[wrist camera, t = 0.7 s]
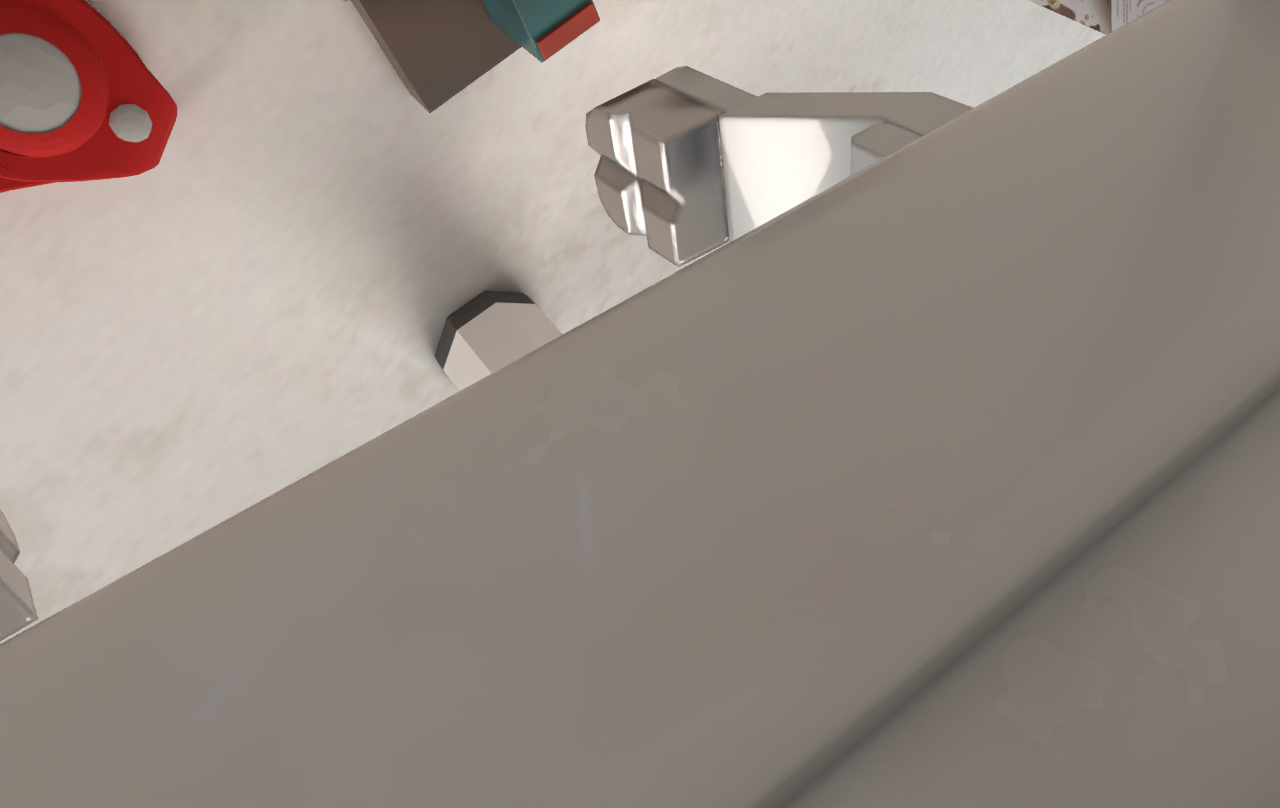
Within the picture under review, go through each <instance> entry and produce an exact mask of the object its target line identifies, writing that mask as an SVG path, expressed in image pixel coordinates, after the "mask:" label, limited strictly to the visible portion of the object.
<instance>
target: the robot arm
mask: <svg viewBox="0 0 1280 808" xmlns="http://www.w3.org/2000/svg"><path fill="white" fill-rule="evenodd" d="M586 133H587V139H588V144H589V146H590V147H591V148H593V149H594V150H595V151H596V152H597V153H598V154H600V155H601V157H600V160H599V163H598V166H597V169H596V172H595V175H594V176H595V180H596V185H597V189H598V194H599V198H600V200H601V202H602V204H603V206H604V208H605V210H606V212H607V214H608V216H609V217H610V218H611V219H612V220H613V222H614V223H615V224H616V225H617V226H618V227H619V228H621V229H622V230H623V231H625V232H626V233H628V234H630V235H641V236H647V240H648V246H649V248H650V249H652V250H653V251H655V252H656V253H658V254H659V255H661V256H662V257H664V258H665V259H667V260H668V261H670V262H671V263H673V264H674V265H676V266H677V267H680V266H682V265H684V264H686V263H688V262H690V261H692V260H694V259H696V258H698V257H700V256H702V255H704V254H706V253H708V252H710V251H712V250H714V249H716V248H718V247H719V246H721V245H723V244H725V243H727V242H729V241H730V243H728V244H726V245H724V246H722V247H721V248H719V249H717V250H715V251H713V252H712V253H710V254H708V255H706V256H704V257H702V258H701V259H699V260H697V261H695V262H693V263H692V264H690V265H688V266H686V267H684V268H683V269H681V270H679V271H677V272H675V273H673V274H672V275H670V276H668V277H666V278H664V279H663V280H661V281H659V282H657V283H655V284H654V285H652V286H650V287H648V288H646V289H644V290H643V291H641V292H639V293H637V294H635V295H634V296H632V297H630V298H628V299H626V300H625V301H623V302H621V303H619V304H617V305H615V306H614V307H612V308H610V309H608V310H606V311H605V312H603V313H601V314H599V315H597V316H595V317H594V318H592V319H590V320H588V321H586V322H585V323H583V324H581V325H579V326H577V327H576V328H574V329H572V330H570V331H568V332H566V333H565V334H563V335H561V336H559V337H557V338H556V339H554V340H552V341H550V342H548V343H547V344H545V345H543V346H541V347H539V348H537V349H536V350H534V351H532V352H530V353H528V354H527V355H525V356H523V357H521V358H519V359H517V360H516V361H514V362H512V363H510V364H508V365H507V366H505V367H503V368H501V369H499V370H497V371H496V372H494V373H492V374H490V375H488V376H487V377H485V378H483V379H481V380H479V381H477V382H476V383H474V384H472V385H470V386H468V387H467V388H465V389H463V390H461V391H459V392H457V393H456V394H454V395H452V396H450V397H448V398H447V399H445V400H443V401H441V402H439V403H437V404H436V405H434V406H432V407H430V408H428V409H427V410H425V411H423V412H421V413H419V414H418V415H416V416H414V417H412V418H410V419H408V420H407V421H405V422H403V423H401V424H399V425H398V426H396V427H394V428H392V429H390V430H388V431H387V432H385V433H383V434H381V435H379V436H378V437H376V438H374V439H372V440H370V441H368V442H367V443H365V444H363V445H361V446H359V447H358V448H356V449H354V450H352V451H350V452H348V453H347V454H345V455H343V456H341V457H339V458H338V459H336V460H334V461H332V462H330V463H328V464H327V465H325V466H323V467H321V468H319V469H318V470H316V471H314V472H312V473H310V474H308V475H307V476H305V477H303V478H301V479H299V480H298V481H296V482H294V483H292V484H290V485H289V486H287V487H285V488H283V489H281V490H279V491H278V492H276V493H274V494H272V495H270V496H269V497H267V498H265V499H263V500H261V501H259V502H258V503H256V504H254V505H252V506H250V507H249V508H247V509H245V510H243V511H241V512H239V513H238V514H236V515H234V516H232V517H230V518H229V519H227V520H225V521H223V522H221V523H219V524H218V525H216V526H214V527H212V528H210V529H209V530H207V531H205V532H203V533H201V534H199V535H198V536H196V537H194V538H192V539H190V540H189V541H187V542H185V543H183V544H181V545H179V546H178V547H176V548H174V549H172V550H170V551H169V552H167V553H165V554H163V555H161V556H160V557H158V558H156V559H154V560H152V561H150V562H149V563H147V564H145V565H143V566H141V567H140V568H138V569H136V570H134V571H132V572H130V573H129V574H127V575H125V576H123V577H121V578H120V579H118V580H116V581H114V582H112V583H110V584H109V585H107V586H105V587H103V588H101V589H100V590H98V591H96V592H94V593H92V594H90V595H89V596H87V597H85V598H83V599H81V600H80V601H78V602H76V603H74V604H72V605H70V606H69V607H67V608H65V609H63V610H61V611H60V612H58V613H56V614H54V615H52V616H51V617H49V618H47V619H45V620H43V621H41V622H40V623H38V624H36V625H34V626H32V627H31V628H29V629H27V630H25V631H23V632H22V633H20V634H18V635H16V636H14V637H13V638H11V639H9V640H7V641H5V642H3V643H2V644H0V808H1280V0H1168V1H1166V2H1164V3H1163V4H1161V5H1159V6H1157V7H1156V8H1154V9H1152V10H1150V11H1149V12H1147V13H1145V14H1143V15H1142V16H1140V17H1138V18H1136V19H1135V20H1133V21H1131V22H1129V23H1127V24H1126V25H1124V26H1122V27H1120V28H1118V29H1116V30H1115V31H1113V32H1111V33H1109V34H1107V35H1106V36H1104V37H1102V38H1100V39H1098V40H1096V41H1095V42H1093V43H1091V44H1089V45H1087V46H1086V47H1084V48H1082V49H1080V50H1078V51H1076V52H1075V53H1073V54H1071V55H1069V56H1067V57H1065V58H1064V59H1062V60H1060V61H1058V62H1056V63H1055V64H1053V65H1051V66H1049V67H1047V68H1045V69H1044V70H1042V71H1040V72H1038V73H1036V74H1035V75H1033V76H1031V77H1029V78H1027V79H1025V80H1024V81H1022V82H1020V83H1018V84H1016V85H1015V86H1013V87H1011V88H1009V89H1007V90H1005V91H1004V92H1002V93H1000V94H998V95H996V96H995V97H993V98H991V99H989V100H987V101H986V102H984V103H982V104H980V105H978V106H976V107H975V108H972V107H969V106H967V105H964V104H961V103H959V102H956V101H953V100H951V99H948V98H945V97H943V96H940V95H937V94H935V93H932V92H871V93H765V94H763V95H761V96H759V97H757V96H755V95H752V94H750V93H748V92H745V91H743V90H741V89H738V88H736V87H734V86H732V85H729V84H727V83H725V82H722V81H720V80H718V79H715V78H713V77H711V76H708V75H706V74H704V73H702V72H699V71H697V70H695V69H692V68H690V67H688V66H683V67H677V68H675V69H673V70H671V71H669V72H667V73H665V74H663V75H661V76H659V77H657V78H656V79H652V80H650V81H648V82H646V83H644V84H642V85H640V86H638V87H636V88H634V89H632V90H630V91H628V92H626V93H624V94H622V95H620V96H618V97H616V98H614V99H611V100H609V101H607V102H605V103H603V104H601V105H599V106H597V107H595V108H594V109H592V110H591V111H589V112H588V113H586ZM19 553H20V551H19V547H18V544H17V541H16V538H15V535H14V533H13V531H12V529H11V527H10V525H9V524H8V522H7V520H6V518H5V516H4V514H3V512H2V511H1V510H0V641H1V640H3V639H5V638H7V637H8V636H10V635H12V634H14V633H15V632H17V631H19V630H20V629H22V628H24V627H26V626H27V625H29V624H31V623H33V622H34V621H36V620H38V616H37V613H36V609H35V605H34V601H33V598H32V594H31V590H30V586H29V583H28V579H27V578H26V577H25V575H24V574H23V573H22V572H21V571H20V570H19V569H18V568H17V567H16V566H15V565H14V562H15V560H16V559H17V557H18V555H19Z"/></svg>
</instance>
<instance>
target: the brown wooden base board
mask: <svg viewBox="0 0 1280 808" xmlns="http://www.w3.org/2000/svg"><path fill="white" fill-rule="evenodd" d="M344 1H345V2H346V1H348V0H344ZM351 1H352V2H353V4H354V5H355V7H356V9H357V10H358V12H359V13H360V15H361V16H362V18H363V20H364V21H365V23H366V24H367V26H368V28H369V29H370V31H371V32H372V34H373V35H374V37H375V39H376V40H377V42H378V43H379V45H380V46H381V48H382V50H383V51H384V53H385V54H386V56H387V58H388V59H389V61H390V62H391V64H392V65H393V67H394V69H395V70H396V72H397V73H398V75H399V77H400V78H401V80H402V81H403V83H404V84H405V86H406V88H407V89H408V91H409V92H410V94H411V95H412V96H413V97H414V98H415V99H416V100H417V101H418V102H419V103H420V104H421V105H422V106H423V107H424V108H425V109H426V110H427V111H428V112H429V113H431V112H432V111H434V110H435V109H437V108H438V107H439V106H441V105H442V104H443V103H445V102H446V101H448V100H449V99H450V98H452V97H453V96H454V95H456V94H457V93H459V92H460V91H461V90H463V89H464V88H465V87H467V86H468V85H470V84H471V83H472V82H474V81H475V80H476V79H478V78H479V77H481V76H482V75H483V74H485V73H486V72H487V71H489V70H490V69H492V68H493V67H494V66H496V65H497V64H498V63H500V62H501V61H503V60H504V59H505V58H507V57H508V56H509V55H511V54H512V53H514V52H515V51H516V50H518V49H519V48H520V47H522V46H521V45H519V44H518V43H517V42H516V41H514V40H513V39H512V38H511V37H509V36H508V35H507V34H506V33H504V32H503V31H502V30H501V29H499V28H498V27H497V26H496V25H494V23H493V21H492V19H491V17H490V15H489V13H488V11H487V9H486V7H485V5H484V3H483V1H482V0H351Z"/></svg>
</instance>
